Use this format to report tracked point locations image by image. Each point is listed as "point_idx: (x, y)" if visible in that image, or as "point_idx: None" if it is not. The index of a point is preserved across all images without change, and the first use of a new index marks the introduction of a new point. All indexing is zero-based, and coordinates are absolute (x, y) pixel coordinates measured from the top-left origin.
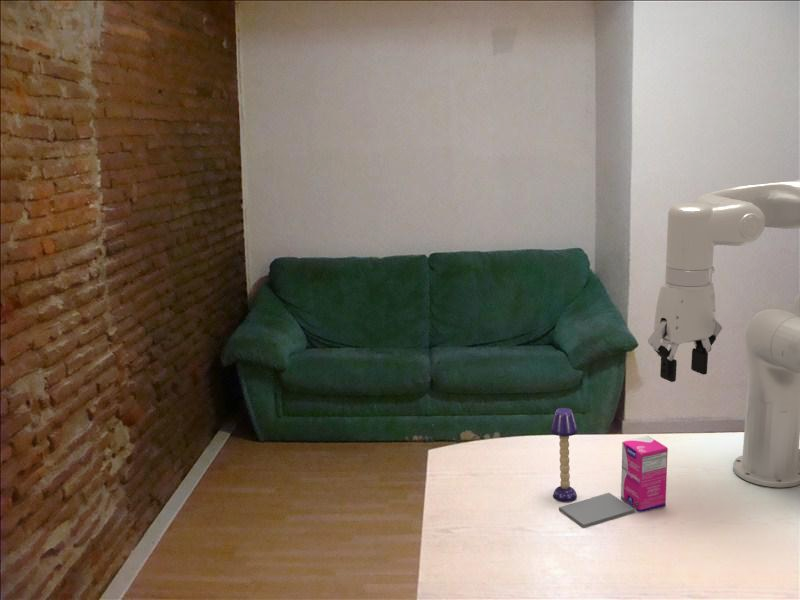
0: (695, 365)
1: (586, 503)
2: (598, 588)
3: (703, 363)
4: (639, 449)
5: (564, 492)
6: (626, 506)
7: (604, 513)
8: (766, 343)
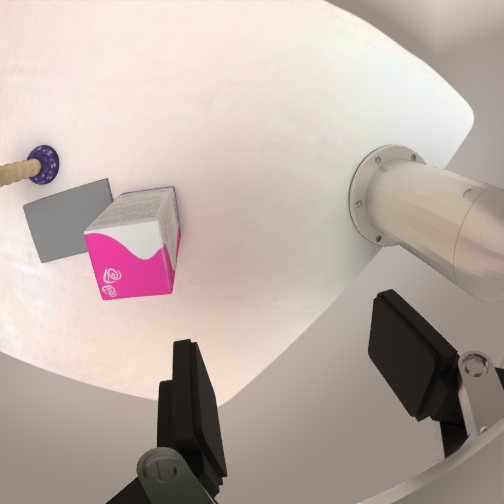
0: (386, 334)
1: (59, 205)
2: (44, 363)
3: (390, 386)
4: (105, 283)
5: (32, 179)
6: None
7: (75, 242)
8: None
